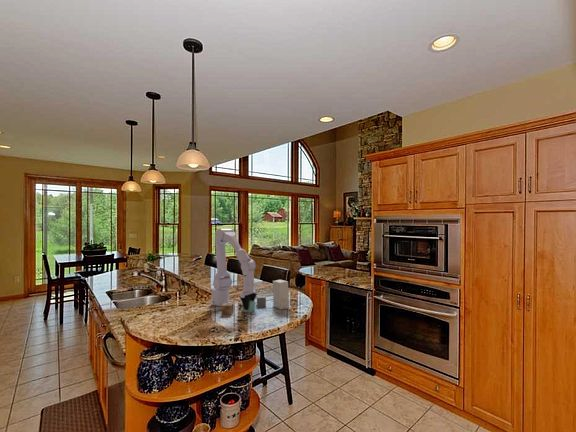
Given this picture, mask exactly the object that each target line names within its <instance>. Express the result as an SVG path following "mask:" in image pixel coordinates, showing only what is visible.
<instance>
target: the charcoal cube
mask: <svg viewBox="0 0 576 432" xmlns="http://www.w3.org/2000/svg"><path fill="white" fill-rule="evenodd" d="M266 303H267V296H266V295H256V307H259V308H261V307H262V306H264V307H267V304H266Z"/></svg>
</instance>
